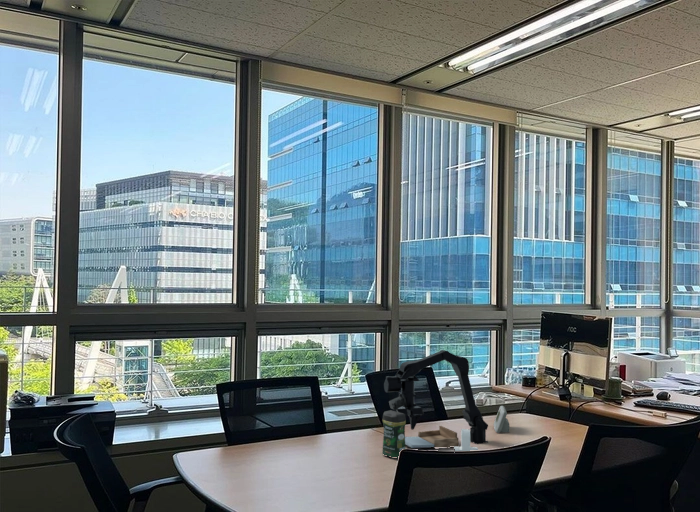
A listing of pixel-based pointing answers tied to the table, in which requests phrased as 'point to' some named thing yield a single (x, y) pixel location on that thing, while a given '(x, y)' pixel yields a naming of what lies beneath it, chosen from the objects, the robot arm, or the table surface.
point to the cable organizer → (465, 441)
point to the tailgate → (417, 442)
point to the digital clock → (501, 421)
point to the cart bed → (440, 437)
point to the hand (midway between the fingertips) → (407, 427)
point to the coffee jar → (393, 433)
